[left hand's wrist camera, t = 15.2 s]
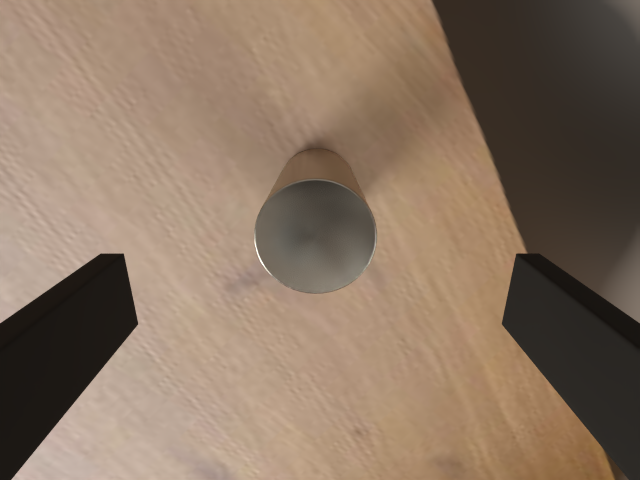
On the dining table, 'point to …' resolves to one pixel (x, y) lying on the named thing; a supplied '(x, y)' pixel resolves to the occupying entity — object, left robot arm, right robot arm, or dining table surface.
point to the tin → (315, 225)
